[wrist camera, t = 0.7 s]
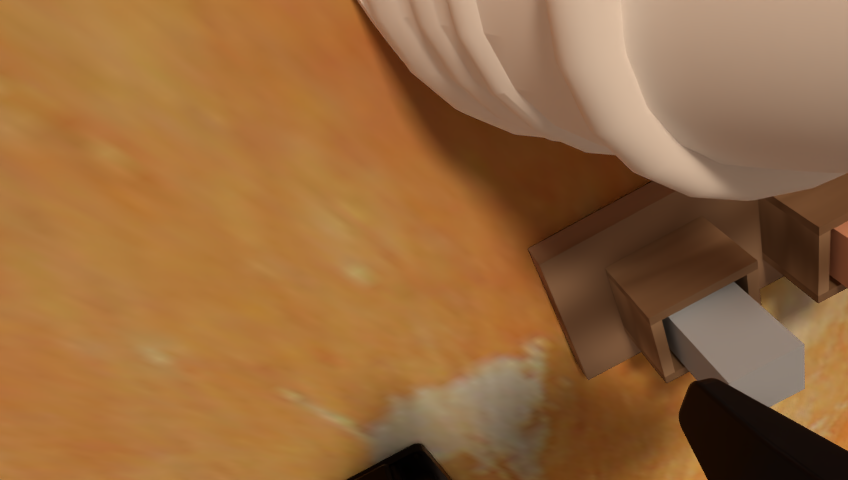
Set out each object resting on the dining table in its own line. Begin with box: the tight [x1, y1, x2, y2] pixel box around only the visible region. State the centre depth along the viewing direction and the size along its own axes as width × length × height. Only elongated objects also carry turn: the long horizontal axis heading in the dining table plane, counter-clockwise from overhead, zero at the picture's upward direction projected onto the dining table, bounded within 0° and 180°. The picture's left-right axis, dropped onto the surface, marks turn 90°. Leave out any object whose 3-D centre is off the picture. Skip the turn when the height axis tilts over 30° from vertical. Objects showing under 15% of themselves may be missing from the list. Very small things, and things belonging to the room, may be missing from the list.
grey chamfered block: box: [662, 282, 805, 407], centre depth 24 cm, size 3×3×5 cm
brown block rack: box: [528, 173, 848, 383], centre depth 26 cm, size 9×25×5 cm, turn 115°
